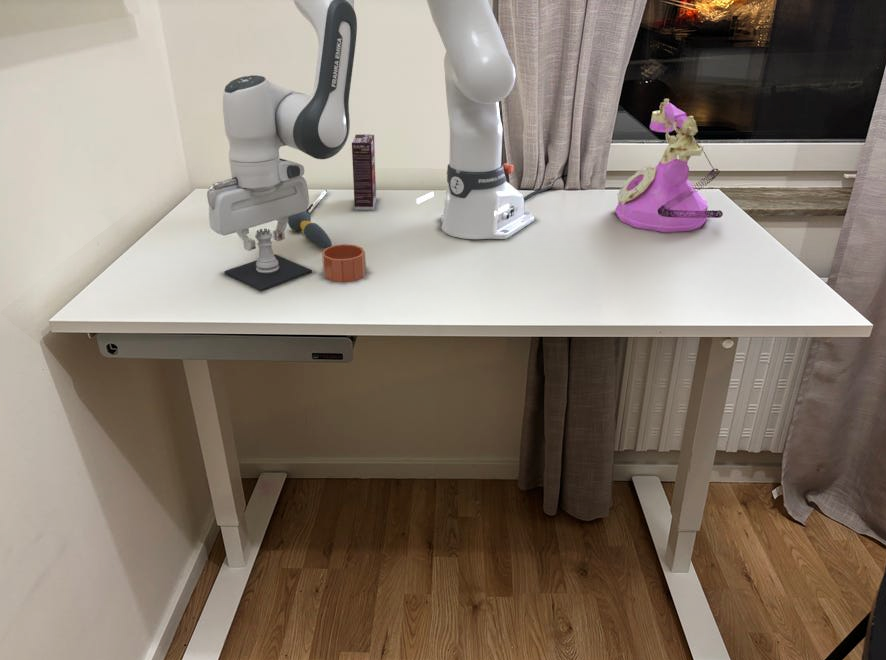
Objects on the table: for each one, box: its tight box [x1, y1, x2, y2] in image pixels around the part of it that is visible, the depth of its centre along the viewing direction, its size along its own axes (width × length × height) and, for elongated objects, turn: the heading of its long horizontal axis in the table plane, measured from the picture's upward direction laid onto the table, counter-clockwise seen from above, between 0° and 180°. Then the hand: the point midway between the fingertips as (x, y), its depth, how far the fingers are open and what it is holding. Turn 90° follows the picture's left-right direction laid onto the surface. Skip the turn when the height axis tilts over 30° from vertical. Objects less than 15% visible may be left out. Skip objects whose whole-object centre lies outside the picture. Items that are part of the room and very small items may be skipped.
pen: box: [306, 189, 328, 215], centre depth 181 cm, size 1×19×1 cm, turn 172°
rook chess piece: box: [254, 228, 279, 274], centre depth 143 cm, size 4×4×8 cm
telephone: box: [615, 98, 724, 233], centre depth 162 cm, size 36×22×25 cm, turn 178°
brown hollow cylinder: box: [321, 243, 367, 283], centre depth 143 cm, size 8×8×4 cm
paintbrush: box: [287, 211, 333, 250], centre depth 160 cm, size 20×5×5 cm, turn 38°
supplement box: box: [351, 133, 377, 211], centre depth 177 cm, size 9×5×16 cm, turn 179°
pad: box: [224, 253, 313, 292], centre depth 145 cm, size 12×12×1 cm
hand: (265, 244), depth 142 cm, fingers open, 5 cm apart
